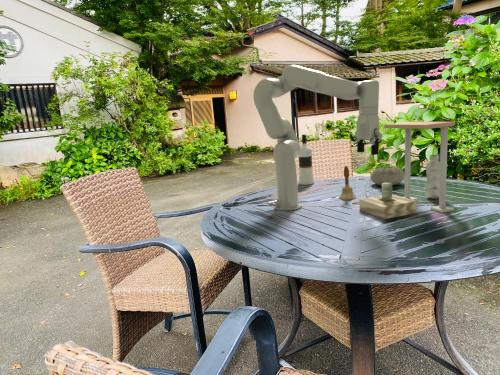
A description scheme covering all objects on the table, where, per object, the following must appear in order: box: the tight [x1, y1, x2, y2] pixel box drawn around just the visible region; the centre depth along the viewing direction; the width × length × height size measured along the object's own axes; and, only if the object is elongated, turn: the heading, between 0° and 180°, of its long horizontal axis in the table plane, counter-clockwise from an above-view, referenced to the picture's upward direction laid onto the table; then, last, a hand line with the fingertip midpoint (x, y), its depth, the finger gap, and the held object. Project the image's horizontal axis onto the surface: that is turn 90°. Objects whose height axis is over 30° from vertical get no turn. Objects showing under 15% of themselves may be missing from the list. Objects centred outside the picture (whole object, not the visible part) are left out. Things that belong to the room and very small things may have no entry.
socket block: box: [358, 193, 418, 220], centre depth 153 cm, size 16×16×5 cm
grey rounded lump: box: [369, 166, 405, 187], centre depth 203 cm, size 18×18×10 cm
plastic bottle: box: [424, 154, 440, 200], centre depth 166 cm, size 6×7×20 cm
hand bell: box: [338, 165, 357, 201], centre depth 180 cm, size 8×8×16 cm
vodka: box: [297, 134, 315, 186], centre depth 220 cm, size 9×9×30 cm
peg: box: [381, 183, 393, 202], centre depth 152 cm, size 4×4×11 cm
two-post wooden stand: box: [383, 121, 456, 213], centre depth 154 cm, size 14×26×36 cm, turn 18°
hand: (367, 153), depth 153 cm, fingers open, 9 cm apart
